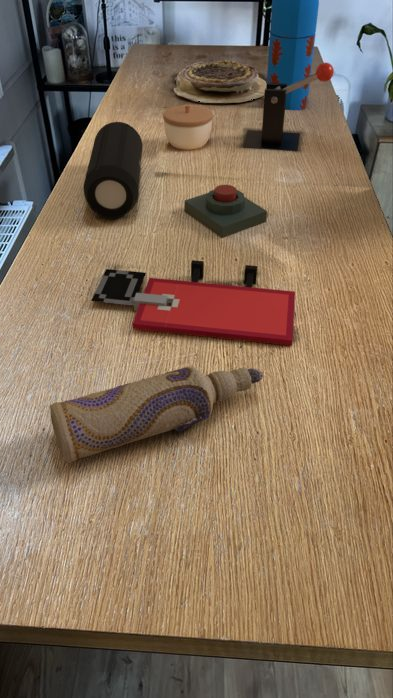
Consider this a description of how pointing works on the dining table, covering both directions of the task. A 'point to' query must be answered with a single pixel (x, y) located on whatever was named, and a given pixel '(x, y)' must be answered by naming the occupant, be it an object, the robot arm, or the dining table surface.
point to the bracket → (273, 123)
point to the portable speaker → (114, 170)
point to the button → (225, 193)
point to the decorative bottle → (142, 409)
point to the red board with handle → (203, 306)
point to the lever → (313, 77)
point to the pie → (219, 82)
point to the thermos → (292, 47)
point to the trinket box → (187, 126)
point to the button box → (225, 213)
